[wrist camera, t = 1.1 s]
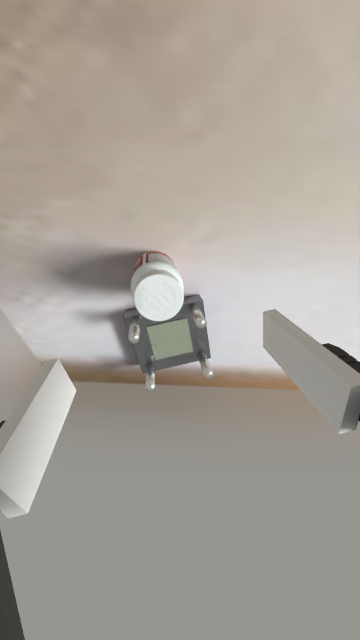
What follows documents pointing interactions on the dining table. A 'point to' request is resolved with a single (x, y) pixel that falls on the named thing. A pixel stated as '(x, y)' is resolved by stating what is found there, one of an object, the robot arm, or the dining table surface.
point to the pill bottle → (157, 286)
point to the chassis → (170, 339)
